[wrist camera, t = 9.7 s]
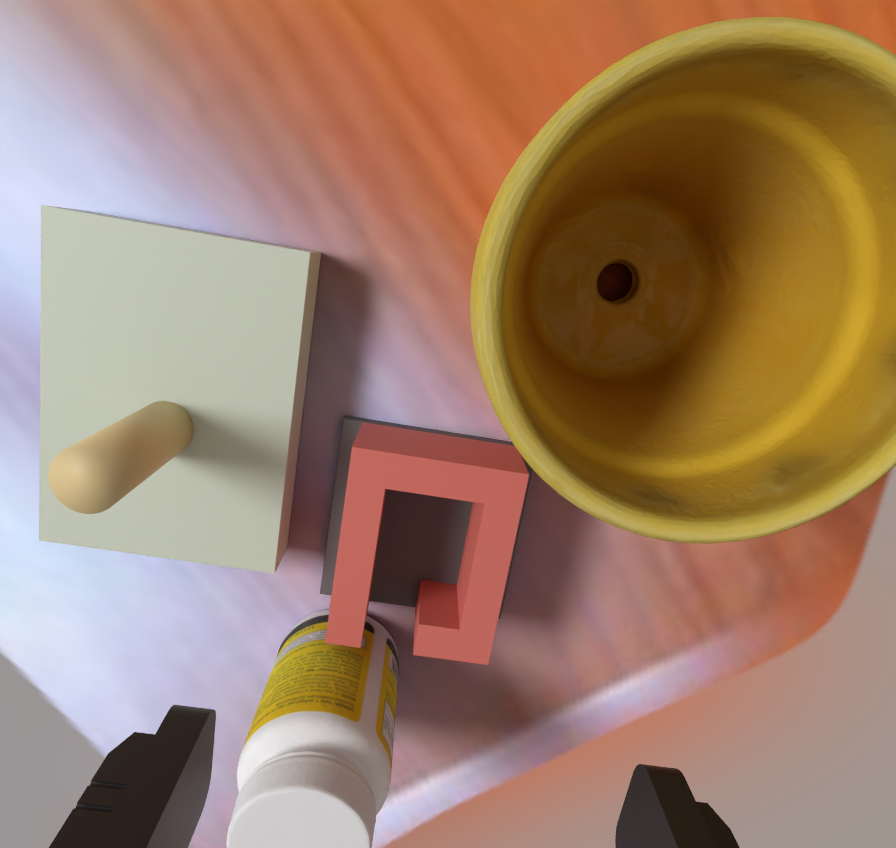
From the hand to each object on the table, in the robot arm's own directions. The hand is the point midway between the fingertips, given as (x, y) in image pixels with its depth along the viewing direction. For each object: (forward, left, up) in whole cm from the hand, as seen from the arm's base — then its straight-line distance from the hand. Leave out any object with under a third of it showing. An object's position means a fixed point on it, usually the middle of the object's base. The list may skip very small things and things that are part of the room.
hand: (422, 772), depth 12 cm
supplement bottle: (+7, -2, -13) cm, 14 cm away
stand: (-3, -9, -12) cm, 16 cm away
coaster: (0, 0, -12) cm, 12 cm away
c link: (0, 0, -12) cm, 12 cm away
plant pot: (-9, +5, -13) cm, 16 cm away
